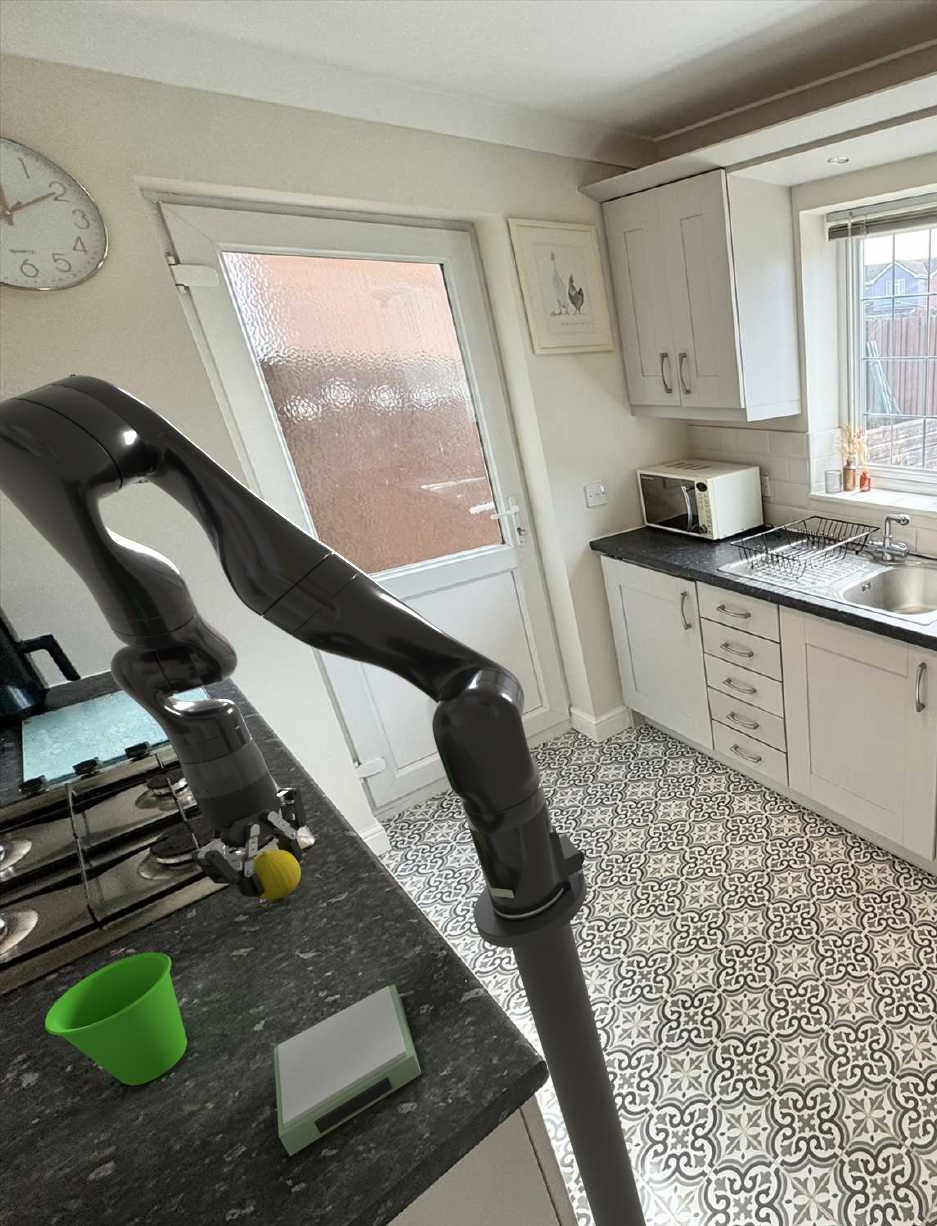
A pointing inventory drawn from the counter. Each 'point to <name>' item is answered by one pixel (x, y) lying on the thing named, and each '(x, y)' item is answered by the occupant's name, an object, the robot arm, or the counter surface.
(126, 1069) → the cup
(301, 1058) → the scale
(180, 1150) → the counter surface
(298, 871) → the lemon
